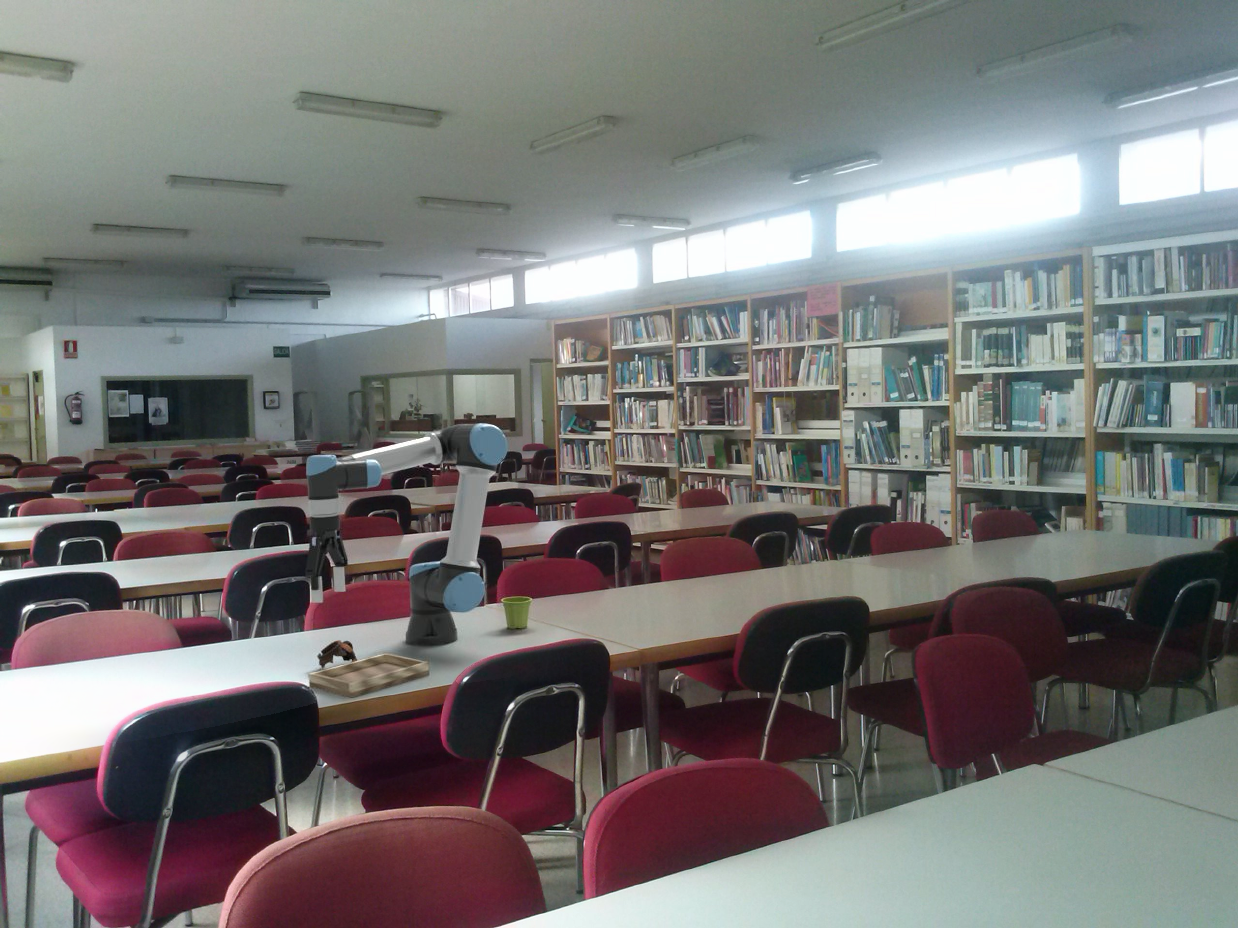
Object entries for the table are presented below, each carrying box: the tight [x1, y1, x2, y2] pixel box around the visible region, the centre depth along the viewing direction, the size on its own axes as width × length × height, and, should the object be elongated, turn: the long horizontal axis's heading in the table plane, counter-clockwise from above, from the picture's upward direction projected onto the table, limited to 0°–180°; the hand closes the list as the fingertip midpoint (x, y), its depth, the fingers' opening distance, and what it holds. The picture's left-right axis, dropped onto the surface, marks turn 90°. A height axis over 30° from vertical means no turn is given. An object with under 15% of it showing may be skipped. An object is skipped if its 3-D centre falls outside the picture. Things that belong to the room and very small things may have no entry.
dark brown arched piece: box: [317, 639, 358, 668], centre depth 263 cm, size 12×10×8 cm
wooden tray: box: [308, 652, 430, 698], centre depth 249 cm, size 24×17×3 cm
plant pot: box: [500, 596, 533, 630], centre depth 305 cm, size 9×9×9 cm
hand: (328, 596), depth 254 cm, fingers open, 13 cm apart
